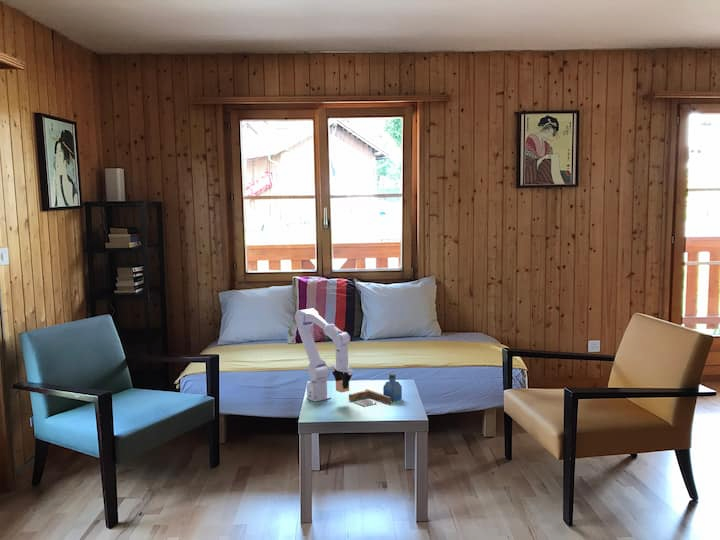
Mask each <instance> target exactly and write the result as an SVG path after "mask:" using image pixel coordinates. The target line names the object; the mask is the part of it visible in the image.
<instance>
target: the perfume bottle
mask: <svg viewBox="0 0 720 540" xmlns="http://www.w3.org/2000/svg"><path fill="white" fill-rule="evenodd" d="M388 376H389V377H388V380H387V381H386V382H385V383H384V385H383V386H382V387H383V388H382V389H383V390H382V391H383V395H386V396H389V397H391V401H392V402H391V403H395V402H398V401H402V400H403V399H402V398H403V396H402V395H403V394H402V393H403V392H402V391H403V388H402V387H403V386H402V385H401V384H400V382H399V381H397V377H396V374H394V373H391V374H389V375H388ZM401 399H402V400H401ZM397 400H398V401H397ZM394 401H395V402H394Z"/></svg>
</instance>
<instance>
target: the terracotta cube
mask: <svg viewBox="0 0 720 540" xmlns="http://www.w3.org/2000/svg"><path fill="white" fill-rule="evenodd" d="M335 391H336V392H338V393H345V392H346V393H347V392H350V384H349V385H348V388H346V389H344V388H343V382H342V380H339V381H336V380H335Z"/></svg>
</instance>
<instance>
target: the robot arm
mask: <svg viewBox="0 0 720 540" xmlns="http://www.w3.org/2000/svg"><path fill="white" fill-rule="evenodd" d="M294 321H295V322H296V326H297V330H298V333H299V336H300V339H301V342H302V345H303V347H304V350H305V353H306V356H307V358H308V361H309V364H308V366H307V368H306V369H307V373H308V374H307V375H308V378H309V379H310V381H308V382H307V384H306V398H305V399H308V400H310V401H312V402H319V401H324V400H325V401H326V400H329V399H332V397H331V396H329V395H328V379H329V377H330V376H331V373H332V375H333V378H334V379H335V382H336V381H339V380H342V382H343V388H344V389H346V388H348V385H349V386H350V381H351V378H352V376H353V375H354V370H353V369H351V366H349V344H350V343H351V336H350V334H349V333H348V332H347V331H342V330H341V329H339V328H338V327H337V326H336V324H334V323H329V322H327V321H326V320H325V319H324V318H323V317H322V316H321V315H319V311H317V310H316V308H313V307H311V308H306V309H299V310H297V311H296V312H295V315H294ZM314 324H315V325H317V326H318V327H319V328H321V329H323V333H324V334H325V335H326V336H327V337H329V338H330V339H331V340H332V343H333V344H334V349H335V364H332V365H331V369H330V367H329V366H328V364H327V362H326V361H325V360H324V359H322V358H321V356H320V354H319V351H318V348H317V346H316V342H315V340H314V337H313V335H312V332H311V327H312V326H313V325H314ZM331 370H332V372H331ZM333 370H334V371H333Z"/></svg>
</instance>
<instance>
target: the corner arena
mask: <svg viewBox="0 0 720 540" xmlns="http://www.w3.org/2000/svg"><path fill="white" fill-rule="evenodd" d="M365 397H367V398H365ZM370 397H371V398H370ZM368 398H370V399H373V398H374V399H373V400H370V399H368ZM357 399H358V401H357ZM361 399H362V400H361ZM375 399H377V400H376V401H374V400H375ZM349 400H350V401H349ZM353 400H354V402H353V404H355V403H356V405H358V404H359V405H358V406H361V407H363V406H364V407H363V408H365V406H366V407H369V406H368V405H370V406H373V405H372V404H373V401H374V402H375V403H374V405H377V404H376V403H378V400H380V401H379V402H381V401H383V402H382V403H384V402H385V403H384V404H387V403H388V405H390V403H391V404H392V402H391V397H389V396H386V395H383V394H382V393H379V392H377V391H373V390H371V389H368V388H367V389H364V390H362V391H359V392H354V393H350V394H348V401H349V402H352V401H353Z"/></svg>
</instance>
